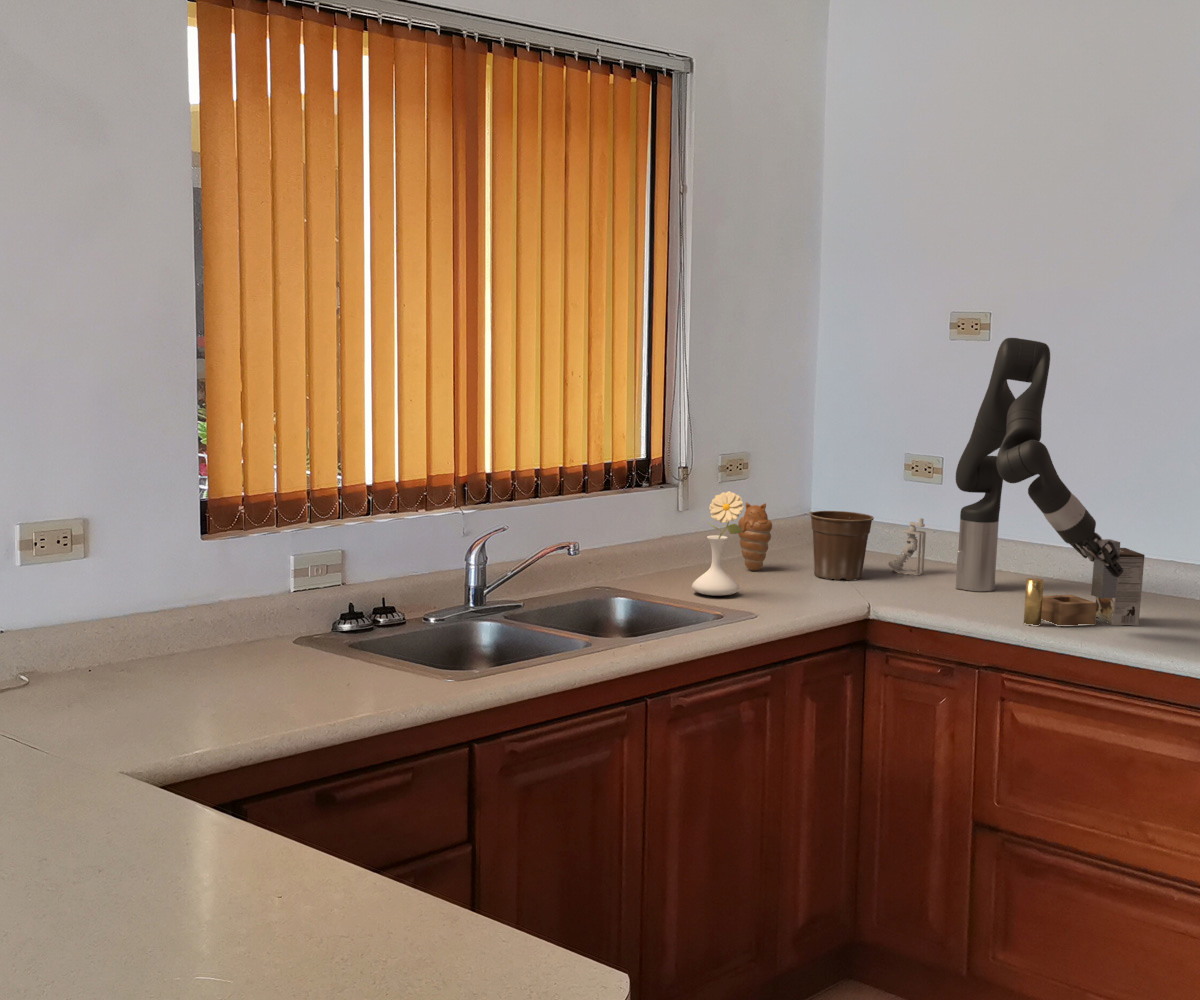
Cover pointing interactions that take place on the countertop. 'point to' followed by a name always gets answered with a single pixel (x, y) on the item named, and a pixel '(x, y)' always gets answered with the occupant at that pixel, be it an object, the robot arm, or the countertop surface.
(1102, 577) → the square bit
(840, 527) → the plant pot
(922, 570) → the clamp
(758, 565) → the cat ice cream
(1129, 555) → the coffee box
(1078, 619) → the bore block
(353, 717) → the countertop surface
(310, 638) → the countertop surface
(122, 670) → the countertop surface
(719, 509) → the flower in vase
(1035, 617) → the round bit
